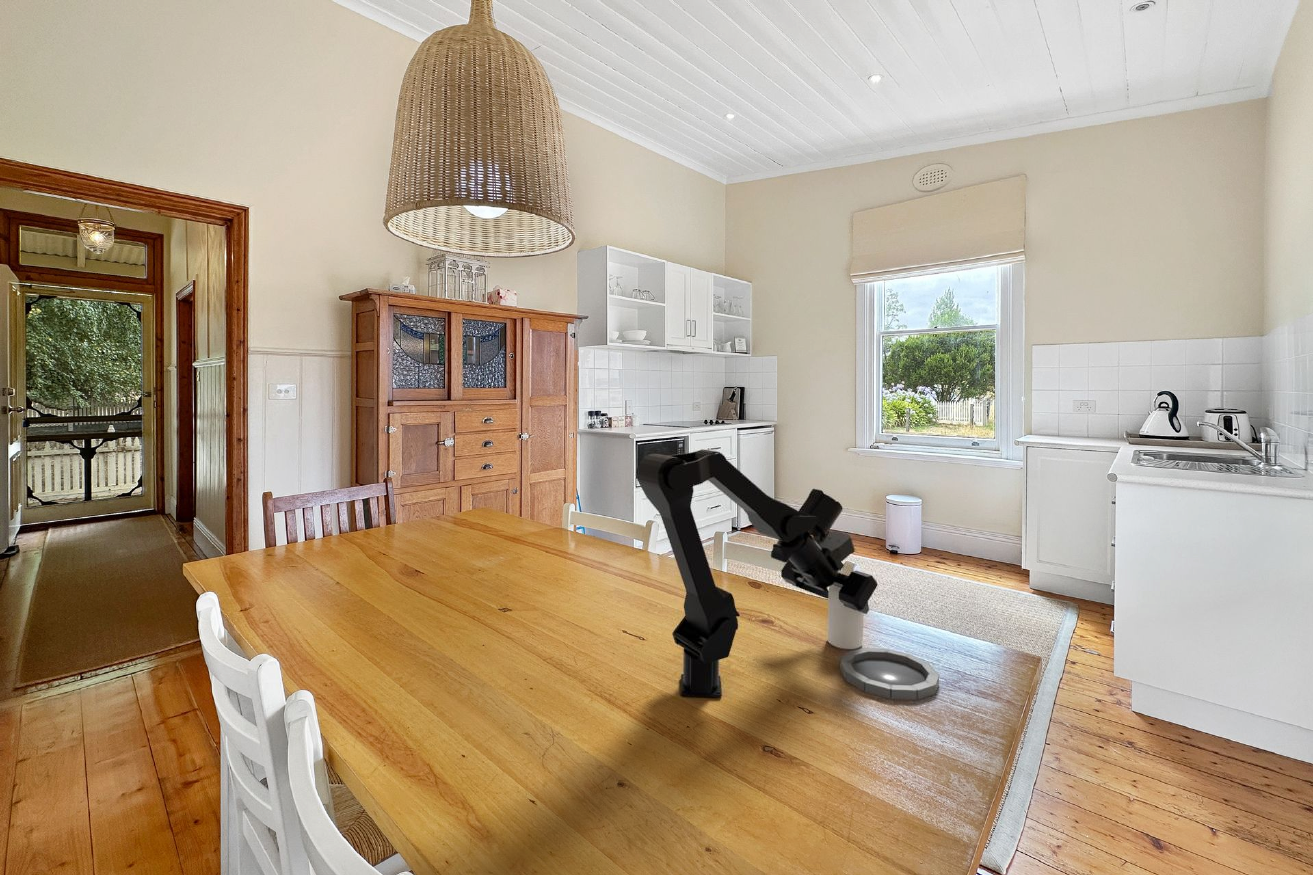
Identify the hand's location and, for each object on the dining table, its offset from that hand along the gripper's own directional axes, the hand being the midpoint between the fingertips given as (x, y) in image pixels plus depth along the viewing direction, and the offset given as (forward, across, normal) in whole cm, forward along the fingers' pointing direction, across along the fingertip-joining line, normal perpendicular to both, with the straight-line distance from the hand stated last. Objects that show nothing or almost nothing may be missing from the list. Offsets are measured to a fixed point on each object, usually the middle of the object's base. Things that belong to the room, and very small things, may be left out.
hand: (847, 603), depth 113 cm
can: (+5, 0, +6) cm, 8 cm away
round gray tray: (+2, -13, +9) cm, 16 cm away
